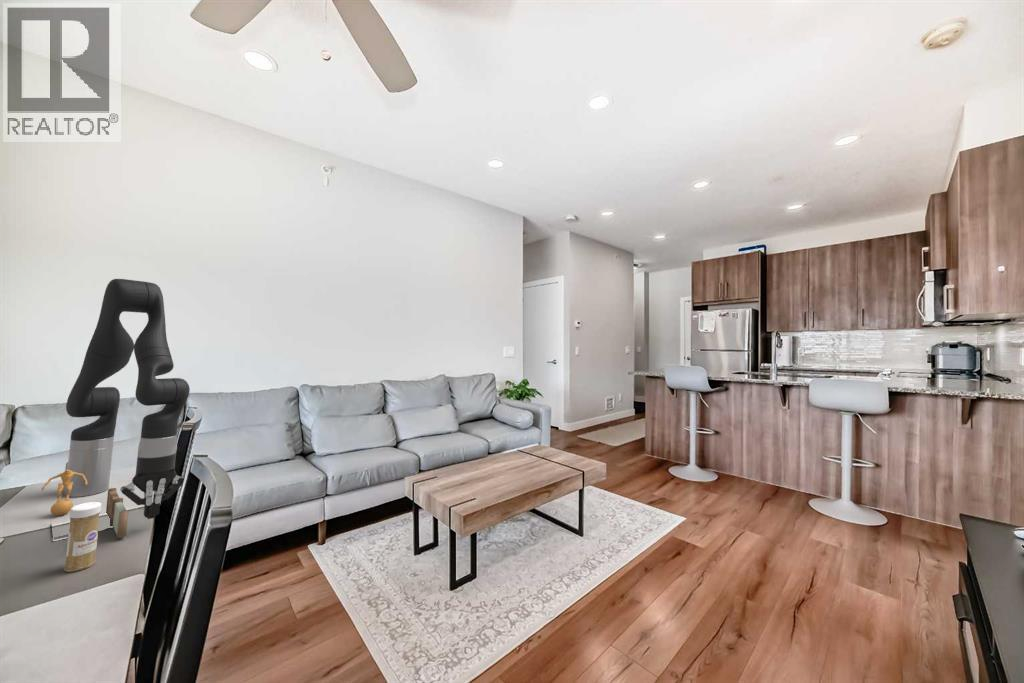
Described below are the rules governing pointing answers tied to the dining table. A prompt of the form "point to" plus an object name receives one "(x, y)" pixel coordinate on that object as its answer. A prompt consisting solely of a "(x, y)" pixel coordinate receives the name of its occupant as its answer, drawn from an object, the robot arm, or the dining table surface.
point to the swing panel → (120, 520)
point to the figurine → (61, 505)
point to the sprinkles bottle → (82, 536)
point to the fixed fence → (112, 503)
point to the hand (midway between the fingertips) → (150, 517)
